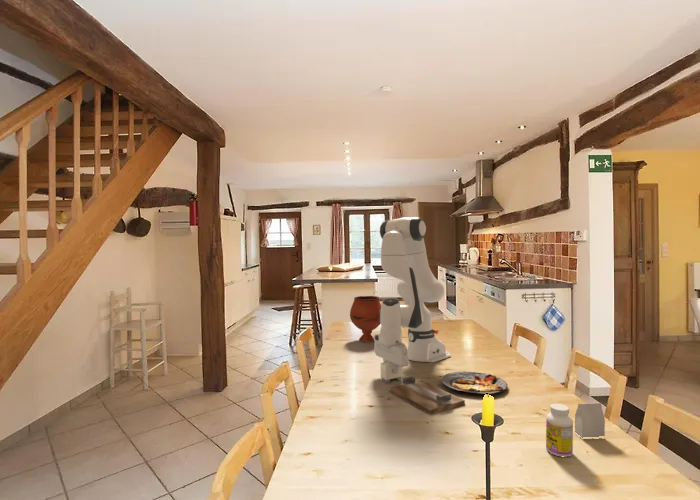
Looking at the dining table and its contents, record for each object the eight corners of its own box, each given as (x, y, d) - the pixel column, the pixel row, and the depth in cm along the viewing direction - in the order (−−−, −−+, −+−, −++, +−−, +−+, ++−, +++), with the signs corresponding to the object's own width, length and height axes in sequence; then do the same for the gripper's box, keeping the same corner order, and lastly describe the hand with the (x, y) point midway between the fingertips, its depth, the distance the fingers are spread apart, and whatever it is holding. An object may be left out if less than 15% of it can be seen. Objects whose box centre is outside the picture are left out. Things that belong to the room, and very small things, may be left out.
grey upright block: (604, 439, 123) (604, 405, 122) (582, 439, 122) (582, 406, 122) (596, 433, 126) (596, 400, 126) (574, 433, 126) (575, 401, 126)
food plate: (506, 380, 173) (506, 371, 172) (508, 402, 151) (508, 392, 150) (445, 374, 181) (445, 366, 181) (438, 394, 159) (438, 385, 159)
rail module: (396, 376, 178) (396, 359, 177) (402, 379, 174) (401, 362, 174) (380, 380, 174) (380, 362, 173) (386, 383, 170) (386, 365, 170)
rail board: (421, 383, 169) (421, 372, 169) (464, 404, 148) (464, 392, 148) (389, 391, 161) (389, 379, 161) (429, 414, 140) (429, 401, 140)
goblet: (389, 338, 241) (389, 296, 240) (373, 346, 225) (372, 300, 224) (361, 334, 252) (360, 293, 251) (343, 342, 236) (343, 298, 235)
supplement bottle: (541, 446, 119) (541, 402, 118) (563, 445, 119) (563, 401, 119) (554, 459, 112) (555, 412, 111) (578, 457, 112) (578, 411, 112)
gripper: (412, 343, 166) (412, 377, 166) (383, 332, 184) (384, 363, 184) (399, 345, 163) (399, 380, 163) (371, 334, 181) (372, 366, 181)
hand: (391, 371), depth 174 cm, fingers closed on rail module, 4 cm apart
